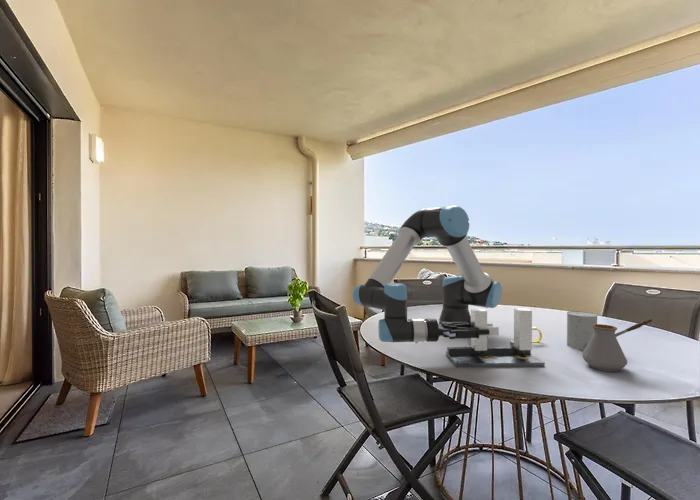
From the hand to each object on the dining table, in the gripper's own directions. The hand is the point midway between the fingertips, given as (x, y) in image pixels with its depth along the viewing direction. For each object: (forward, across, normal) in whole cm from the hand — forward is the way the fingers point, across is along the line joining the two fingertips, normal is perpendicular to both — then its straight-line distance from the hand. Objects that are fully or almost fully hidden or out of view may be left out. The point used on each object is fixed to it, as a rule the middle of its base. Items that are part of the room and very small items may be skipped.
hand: (494, 329), depth 116 cm
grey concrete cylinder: (+38, -14, -11) cm, 42 cm away
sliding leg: (-5, -2, -9) cm, 10 cm away
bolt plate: (-1, 0, -10) cm, 11 cm away
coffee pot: (+36, +7, -11) cm, 39 cm away
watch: (+23, -20, -11) cm, 33 cm away
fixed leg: (+9, -2, -9) cm, 13 cm away
